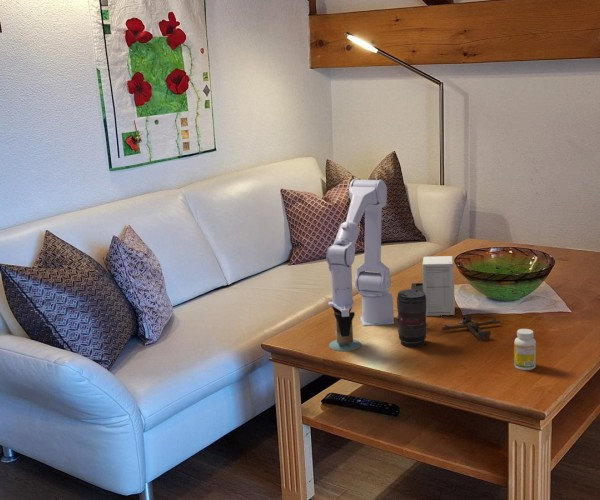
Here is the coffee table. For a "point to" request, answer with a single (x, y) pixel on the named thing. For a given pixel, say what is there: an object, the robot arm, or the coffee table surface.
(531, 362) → the supplement bottle
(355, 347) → the coaster
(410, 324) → the camera lens
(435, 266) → the supplement box
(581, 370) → the coffee table surface
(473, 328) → the dark cross-shaped bracket
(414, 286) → the vhs tape
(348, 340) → the walnut block
